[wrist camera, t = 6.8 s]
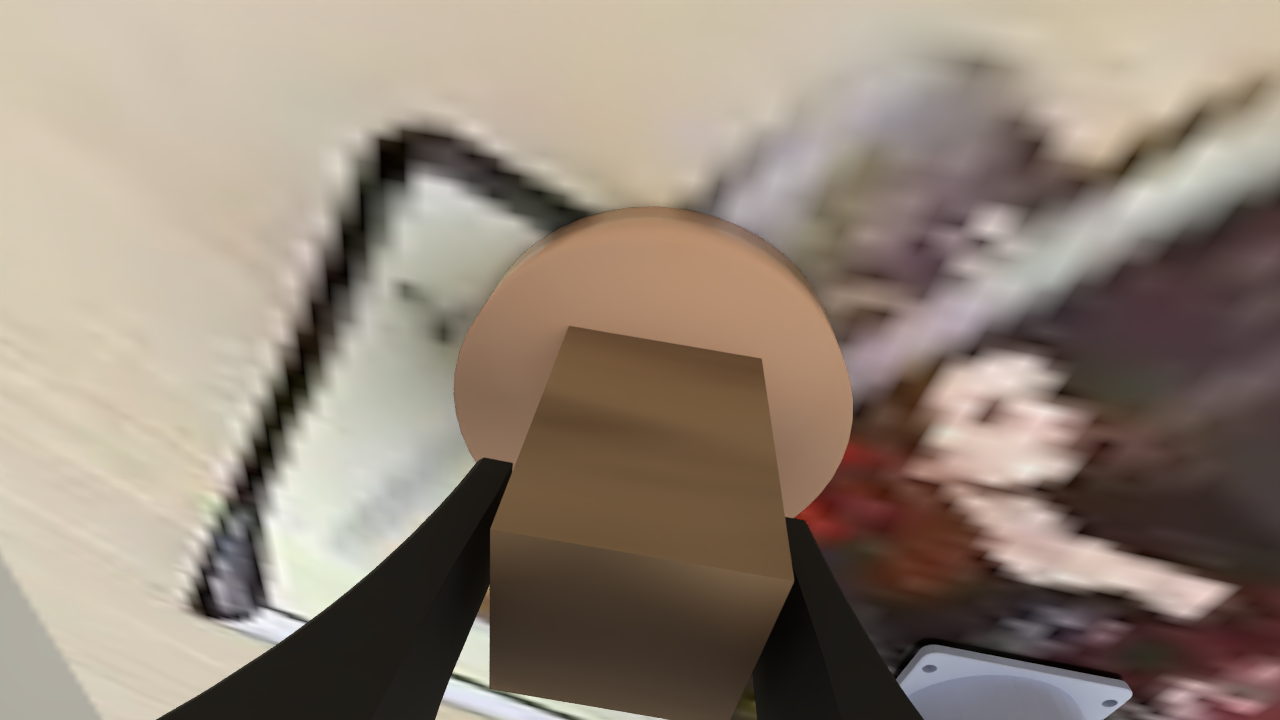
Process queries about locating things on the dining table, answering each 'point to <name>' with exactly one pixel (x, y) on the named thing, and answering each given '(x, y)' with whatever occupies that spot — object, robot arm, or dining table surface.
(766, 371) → the tan round disc
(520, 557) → the walnut block
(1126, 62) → the dining table surface
